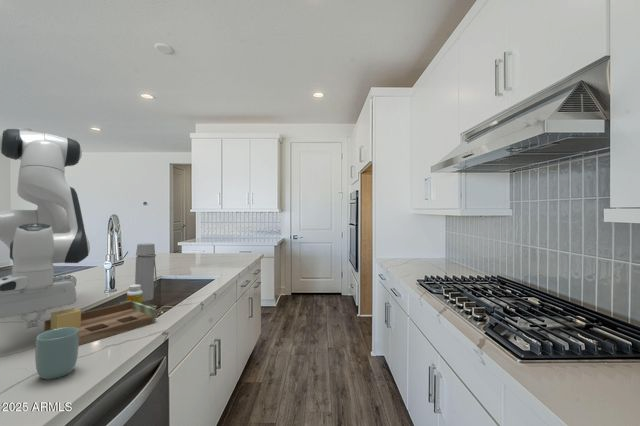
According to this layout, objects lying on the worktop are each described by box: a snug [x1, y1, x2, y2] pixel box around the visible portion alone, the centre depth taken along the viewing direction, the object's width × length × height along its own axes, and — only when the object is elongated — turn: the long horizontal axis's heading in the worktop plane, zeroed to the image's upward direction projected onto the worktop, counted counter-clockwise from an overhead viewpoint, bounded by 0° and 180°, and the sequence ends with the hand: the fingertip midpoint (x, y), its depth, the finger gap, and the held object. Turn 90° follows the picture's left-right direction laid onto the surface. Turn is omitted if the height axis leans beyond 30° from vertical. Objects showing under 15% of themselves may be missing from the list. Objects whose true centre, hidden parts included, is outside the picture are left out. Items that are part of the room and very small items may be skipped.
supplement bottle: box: [126, 284, 143, 304], centre depth 120 cm, size 5×5×10 cm
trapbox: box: [43, 300, 157, 347], centre depth 100 cm, size 16×26×6 cm, turn 148°
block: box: [50, 307, 82, 330], centre depth 94 cm, size 5×6×5 cm
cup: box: [34, 327, 80, 380], centre depth 72 cm, size 8×8×10 cm
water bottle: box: [134, 242, 158, 303], centre depth 134 cm, size 9×8×25 cm
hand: (31, 326), depth 87 cm, fingers closed
